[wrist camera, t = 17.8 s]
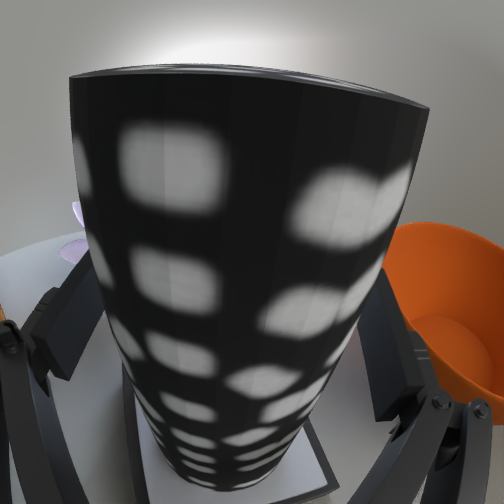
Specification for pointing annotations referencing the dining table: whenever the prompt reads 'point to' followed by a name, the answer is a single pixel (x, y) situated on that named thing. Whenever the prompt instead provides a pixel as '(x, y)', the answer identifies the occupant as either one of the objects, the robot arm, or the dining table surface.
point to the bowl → (453, 306)
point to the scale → (201, 500)
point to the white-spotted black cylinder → (236, 243)
